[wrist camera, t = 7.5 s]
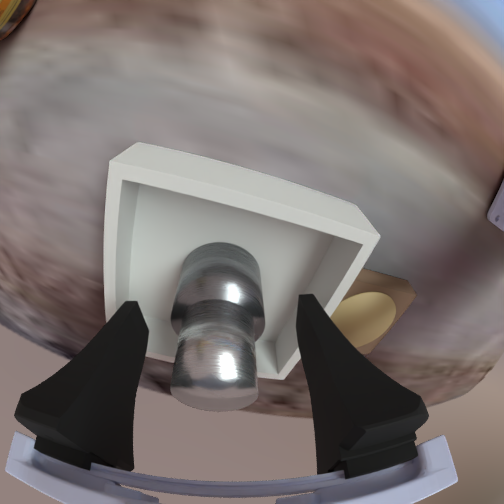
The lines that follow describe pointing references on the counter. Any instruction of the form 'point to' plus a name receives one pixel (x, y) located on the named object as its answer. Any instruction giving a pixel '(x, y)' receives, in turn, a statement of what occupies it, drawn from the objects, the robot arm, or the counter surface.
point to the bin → (229, 231)
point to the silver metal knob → (217, 328)
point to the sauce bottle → (12, 14)
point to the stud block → (372, 308)
